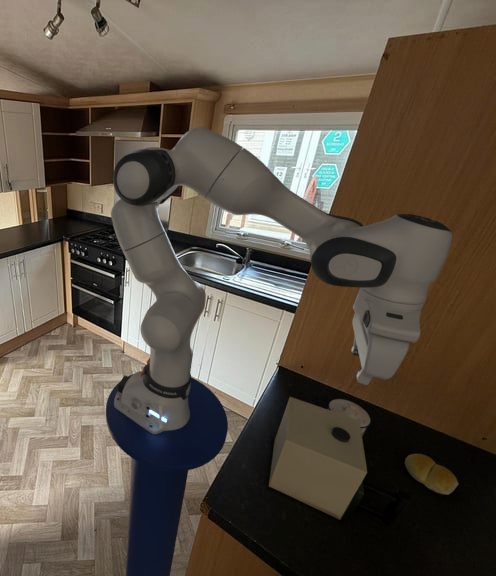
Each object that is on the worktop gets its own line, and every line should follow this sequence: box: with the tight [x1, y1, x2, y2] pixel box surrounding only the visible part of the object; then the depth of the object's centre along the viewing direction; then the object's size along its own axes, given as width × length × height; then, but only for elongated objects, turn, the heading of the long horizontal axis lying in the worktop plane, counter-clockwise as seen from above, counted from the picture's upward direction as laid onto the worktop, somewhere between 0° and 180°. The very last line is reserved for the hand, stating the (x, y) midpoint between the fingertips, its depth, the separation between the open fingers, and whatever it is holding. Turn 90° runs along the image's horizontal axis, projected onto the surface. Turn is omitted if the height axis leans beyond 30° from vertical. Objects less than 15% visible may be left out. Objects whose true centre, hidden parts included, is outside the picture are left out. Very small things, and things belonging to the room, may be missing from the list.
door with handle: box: [342, 479, 411, 527], centre depth 70 cm, size 21×14×10 cm, turn 60°
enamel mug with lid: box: [327, 398, 371, 436], centre depth 83 cm, size 12×9×12 cm
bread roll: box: [404, 453, 459, 496], centre depth 74 cm, size 8×9×4 cm
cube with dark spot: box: [268, 396, 368, 520], centre depth 71 cm, size 14×14×17 cm
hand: (358, 367), depth 62 cm, fingers open, 8 cm apart
